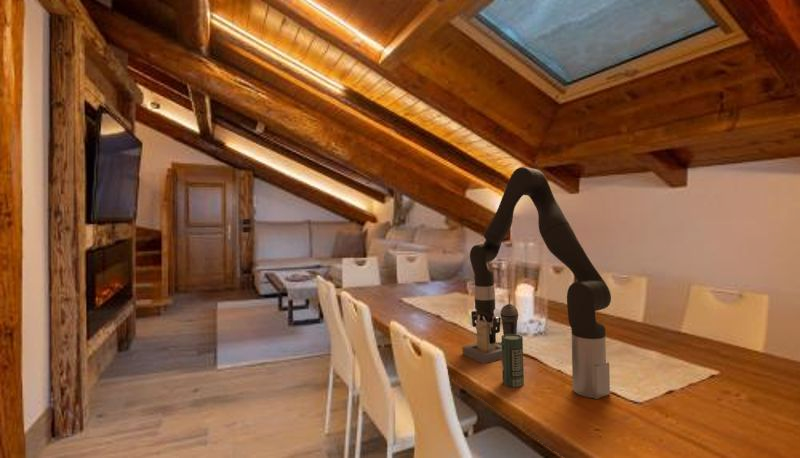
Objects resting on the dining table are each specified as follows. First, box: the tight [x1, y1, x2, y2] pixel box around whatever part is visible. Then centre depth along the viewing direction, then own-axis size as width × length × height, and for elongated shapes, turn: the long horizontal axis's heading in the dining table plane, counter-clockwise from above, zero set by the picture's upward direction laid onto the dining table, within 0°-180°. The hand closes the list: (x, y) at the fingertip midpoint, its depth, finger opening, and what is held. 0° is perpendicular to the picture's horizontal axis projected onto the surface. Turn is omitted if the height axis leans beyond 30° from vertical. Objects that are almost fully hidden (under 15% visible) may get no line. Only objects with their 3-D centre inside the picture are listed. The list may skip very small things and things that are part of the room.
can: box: [500, 334, 525, 389], centre depth 133 cm, size 6×6×15 cm
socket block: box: [462, 342, 502, 365], centre depth 159 cm, size 12×13×3 cm
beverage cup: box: [499, 294, 519, 335], centre depth 173 cm, size 7×7×20 cm
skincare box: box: [476, 320, 496, 353], centre depth 159 cm, size 6×4×12 cm
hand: (486, 341), depth 159 cm, fingers closed on skincare box, 6 cm apart
